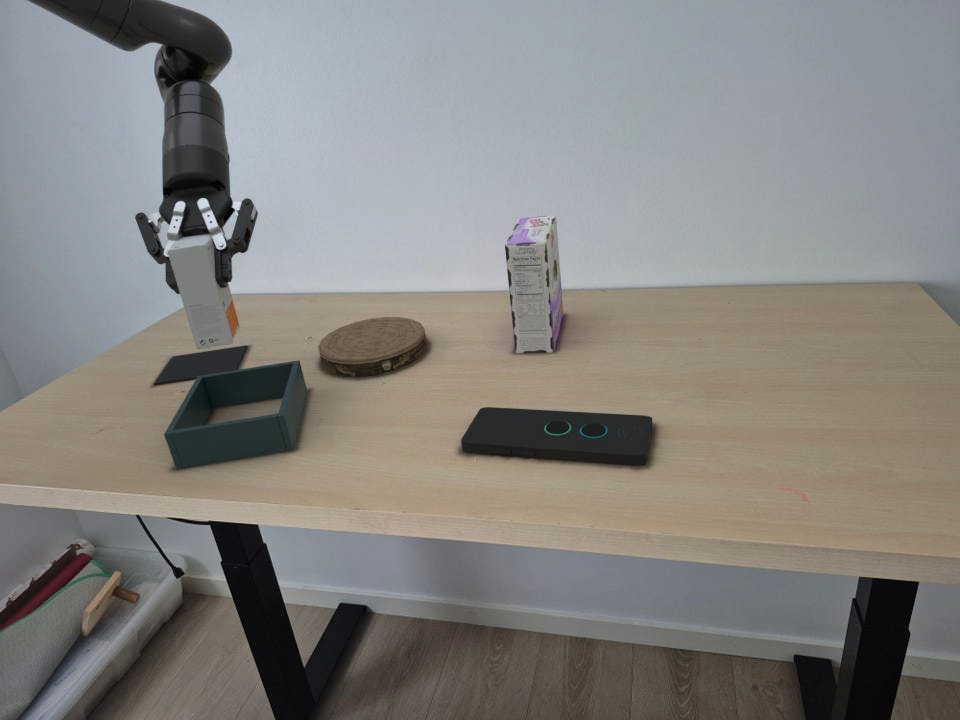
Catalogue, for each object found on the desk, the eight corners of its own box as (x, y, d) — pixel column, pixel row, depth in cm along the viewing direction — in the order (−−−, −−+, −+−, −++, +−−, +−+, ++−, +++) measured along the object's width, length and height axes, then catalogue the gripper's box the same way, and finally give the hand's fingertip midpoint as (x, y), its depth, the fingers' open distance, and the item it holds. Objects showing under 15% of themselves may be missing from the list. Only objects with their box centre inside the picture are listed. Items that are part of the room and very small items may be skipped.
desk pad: (154, 387, 104) (153, 383, 104) (173, 359, 113) (172, 356, 113) (236, 374, 104) (234, 370, 104) (248, 348, 114) (247, 345, 113)
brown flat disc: (310, 353, 108) (306, 336, 107) (404, 326, 114) (401, 309, 113) (340, 390, 95) (335, 371, 94) (444, 357, 101) (441, 338, 100)
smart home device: (645, 455, 70) (458, 441, 76) (645, 469, 71) (460, 455, 77) (653, 413, 77) (481, 404, 83) (653, 427, 78) (483, 417, 84)
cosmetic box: (234, 344, 81) (205, 244, 76) (196, 350, 80) (165, 250, 75) (241, 325, 86) (215, 231, 81) (206, 331, 86) (177, 237, 81)
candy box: (527, 318, 111) (518, 216, 104) (564, 317, 110) (557, 213, 103) (514, 355, 99) (502, 242, 92) (555, 354, 98) (546, 240, 91)
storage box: (176, 471, 81) (163, 434, 79) (208, 408, 95) (197, 375, 93) (294, 452, 82) (284, 415, 80) (307, 392, 96) (299, 360, 94)
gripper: (121, 150, 81) (119, 281, 75) (245, 134, 81) (253, 263, 76) (149, 188, 88) (150, 310, 82) (264, 173, 88) (272, 293, 83)
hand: (199, 287), depth 79 cm, fingers closed on cosmetic box, 4 cm apart
